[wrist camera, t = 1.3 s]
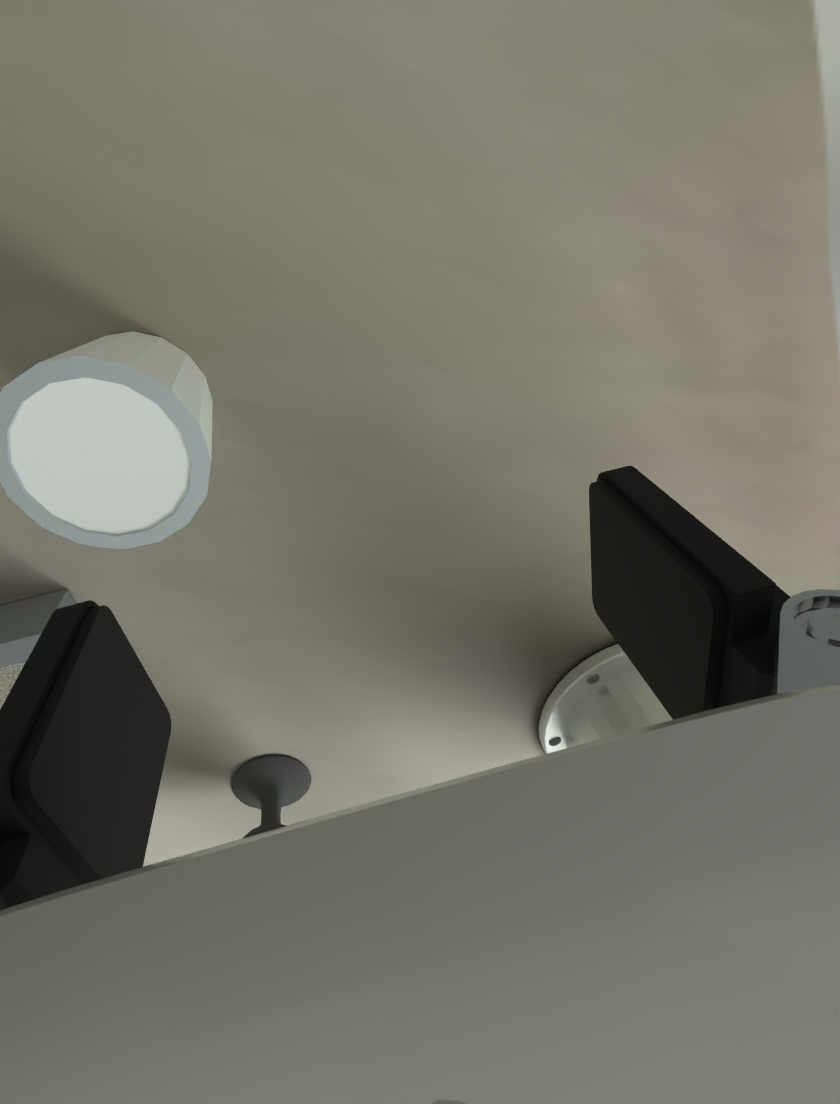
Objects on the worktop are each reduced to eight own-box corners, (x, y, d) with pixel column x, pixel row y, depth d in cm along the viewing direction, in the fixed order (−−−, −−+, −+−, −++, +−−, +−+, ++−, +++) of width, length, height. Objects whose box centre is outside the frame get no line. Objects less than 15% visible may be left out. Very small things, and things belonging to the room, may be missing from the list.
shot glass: (16, 352, 24) (-70, 405, 19) (176, 289, 24) (141, 322, 18) (115, 495, 28) (71, 578, 22) (254, 441, 28) (246, 509, 22)
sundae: (310, 733, 38) (322, 1007, 25) (333, 800, 42) (353, 1071, 29) (203, 758, 37) (160, 1052, 25) (235, 825, 41) (212, 1111, 28)
